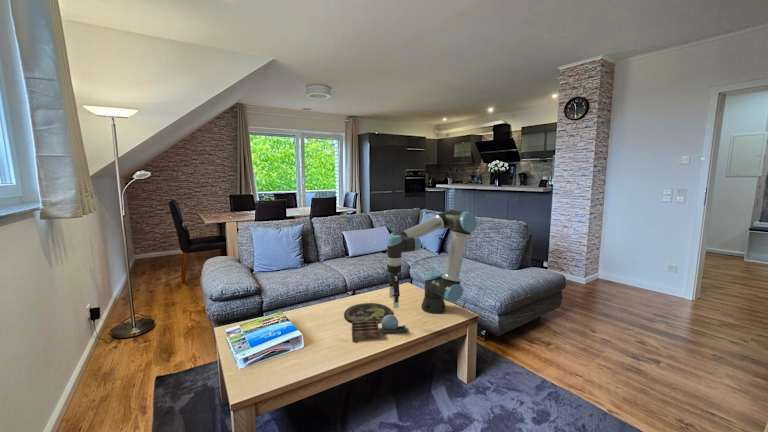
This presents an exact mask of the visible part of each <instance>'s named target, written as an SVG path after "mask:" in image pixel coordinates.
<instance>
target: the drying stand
mask: <svg viewBox="0 0 768 432" xmlns="http://www.w3.org/2000/svg"><path fill="white" fill-rule="evenodd" d="M381 331H382V335H393V334H407V333H408V329H407V327H406V325H405V324H403V325H398V327H397V328H396V330H384V329H383V328H382V327H381Z"/></svg>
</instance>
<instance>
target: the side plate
mask: <svg viewBox="0 0 768 432" xmlns="http://www.w3.org/2000/svg"><path fill="white" fill-rule="evenodd" d="M398 326H399V319H398V318H397V317H396V316H395V315H394V314H393V315H387V316H385V317H384V318H383V319H382V323H381V329H382V328H383V329H384V330H396V328H397V327H398Z"/></svg>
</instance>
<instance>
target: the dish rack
mask: <svg viewBox="0 0 768 432" xmlns="http://www.w3.org/2000/svg"><path fill="white" fill-rule="evenodd" d="M351 339H352V343H353V342H354V343H356V342H357V343H358V342H359V341H362V340H363V341H364V340H365V341H366V340H376V339H377V340H379V339H380V328H379V325H378V323H377V321H366V322H352V323H351Z"/></svg>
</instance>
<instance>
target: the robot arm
mask: <svg viewBox="0 0 768 432" xmlns="http://www.w3.org/2000/svg"><path fill="white" fill-rule="evenodd" d="M477 225H478V222H477V217H476V215H475V214H474V213H472V212H470V211H466V210H465V211H464V210H458V209H449V210H446V211H442V212H440V213H437V214H435V215H434V216H433V218H430V219H428V220H426V221H423V222H421V223H418V224H416V225H414V226H411V227H410V228H406V229H405V230H402V231H400V232H398V233H397V232H391V233H390V234H389V235H388V236H387V242H386V243H387V244H386V247H387V248H386V251H387V254H386V255H387V256H386V258H385V259H386V262H387V263H386V264H387V265H386V271H387V272H388V273H389V276H388V277H389V279H388V284H389V289H388V290H389V292H388V293H389V295H388V296H389V297H388V298H389V299H392V300H393V304H392V306H393V307H392V308H393V309H399V307H400V283H399V282H400V279H399V278H400V277H399V275H398V273H399V274H400V273H401V272H402V255H403V254H402V253H410V252H416V251H420V249H421V248H422V241H421V239H420V238H422V237H424V236H427V235H429V234H431V233H433V232H435V231H437V230H440V231H442V230H444V229H450V233H451V235H452V236H451V240H450V244H449V245H450V246H449V250H448V254H447V261H446V265H445V271H444V273H442V272H429V273H426V274H425V276H424V297H423V300H422V302H421V309H422V310H423V311H424V313H425V312H426V313H429V314H442V313H444V312H445V311H446V308H447V307H446V302H449V303H456V302H458V301H459V300H460V299H461V298H462V296H463V293H464V288H463V286H462V285H461V282H462V279H461V278H460V273H461V270H462V269H461V268H462V264H463V259H464V254H465V248H466V245H467V239H468V238H469V237H470V236H471V233H473V232H474V231H475V230H476V229H477ZM445 301H446V302H445Z"/></svg>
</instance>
